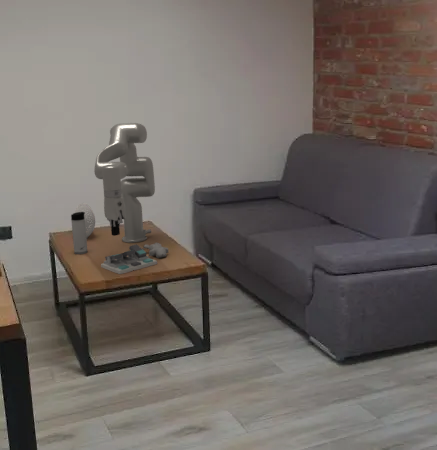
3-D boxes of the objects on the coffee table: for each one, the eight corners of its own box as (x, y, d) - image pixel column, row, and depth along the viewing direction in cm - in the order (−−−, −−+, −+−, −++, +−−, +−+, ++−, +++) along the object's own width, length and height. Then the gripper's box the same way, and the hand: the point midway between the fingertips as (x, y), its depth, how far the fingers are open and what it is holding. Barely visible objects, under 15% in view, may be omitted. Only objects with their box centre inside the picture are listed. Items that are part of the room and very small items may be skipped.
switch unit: (138, 257, 323) (137, 246, 321) (157, 263, 312) (156, 252, 310) (101, 267, 310) (100, 255, 309) (119, 274, 299) (118, 262, 298)
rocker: (113, 258, 311) (112, 254, 311) (122, 257, 305) (121, 253, 305) (105, 260, 309) (104, 256, 309) (114, 259, 303) (114, 255, 303)
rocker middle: (125, 256, 316) (124, 252, 316) (134, 253, 309) (133, 249, 309) (118, 258, 313) (117, 254, 313) (127, 255, 307) (126, 251, 307)
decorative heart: (74, 233, 370) (71, 202, 365) (94, 231, 372) (92, 200, 368) (77, 242, 353) (74, 209, 349) (98, 240, 355) (95, 207, 351)
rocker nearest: (136, 247, 319) (136, 243, 319) (146, 255, 315) (146, 252, 314) (129, 248, 317) (129, 245, 316) (139, 257, 312) (139, 254, 311)
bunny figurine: (152, 252, 316) (141, 241, 329) (153, 262, 318) (141, 251, 331) (172, 249, 320) (159, 238, 333) (172, 259, 322) (159, 248, 335)
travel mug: (85, 254, 330) (81, 213, 326) (72, 254, 332) (68, 213, 327) (90, 250, 336) (86, 210, 332) (77, 250, 338) (73, 210, 333)
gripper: (129, 194, 295) (132, 236, 299) (110, 190, 306) (113, 230, 310) (114, 197, 290) (118, 239, 294) (95, 192, 301) (99, 233, 305)
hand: (115, 234), depth 302 cm, fingers closed
